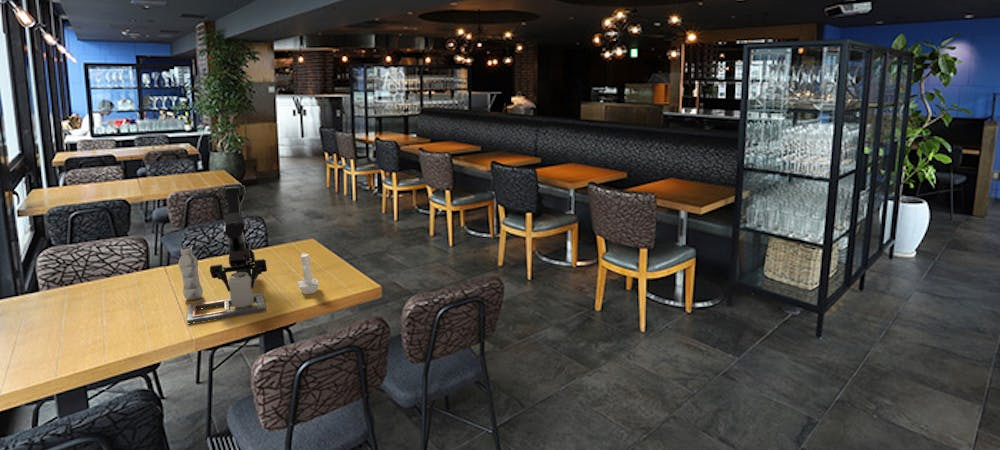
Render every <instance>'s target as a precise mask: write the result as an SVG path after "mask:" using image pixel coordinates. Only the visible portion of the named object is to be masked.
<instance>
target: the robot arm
mask: <svg viewBox="0 0 1000 450" xmlns="http://www.w3.org/2000/svg"><path fill="white" fill-rule="evenodd" d="M221 191H222V192H221V193H222V197H224V199H225V201H226V202H227V209H228V210H227V211H228V215H227V217H226V218H225V224H224V225H223V235H224V236H225V237H226V240H227V243H228V263H229V266H223V264H221V263H220V264H211V265H210V267H209V273H210V275H211V278H212V279H218V280H221V281H222V283H223V284H224V286H225V288H226V289H227V291H228V292H229V293H230V288H229V281H228V280H229V279H228V275H227V273H232V272H234V273H237V272H247V273H248V275H249V276H250V277H251V284H252V290H253V289H254V287H255V284H256V282H257V279H258V277H259V276H260V275H261V274H262V273H266V272H267V271H268V268H267V261H266V259H264V258H262V259H256V257H255V252H254V251H253V249H251V248H250V244H249V243H248V242H247V241H246V238H245V237H246V236H245V235H246V234H247V233H248V232H249V226H248V224H247V223H246V222H245V219H244V217H243V212H242V204H243V201H244V199H245V196H244V195H246V188H245V185H243V184H242V183H241V182H238V183H237V182H235V183H225V184H224V186H222V187H221Z"/></svg>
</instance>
